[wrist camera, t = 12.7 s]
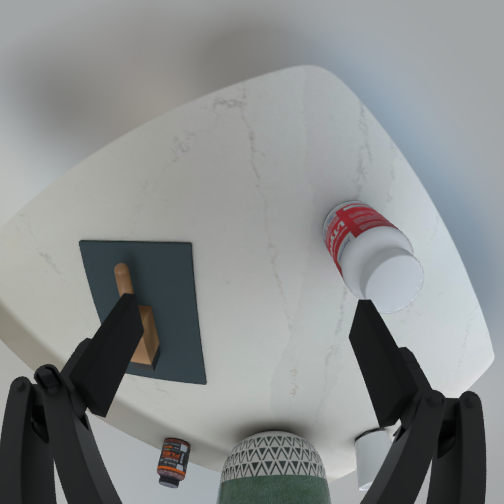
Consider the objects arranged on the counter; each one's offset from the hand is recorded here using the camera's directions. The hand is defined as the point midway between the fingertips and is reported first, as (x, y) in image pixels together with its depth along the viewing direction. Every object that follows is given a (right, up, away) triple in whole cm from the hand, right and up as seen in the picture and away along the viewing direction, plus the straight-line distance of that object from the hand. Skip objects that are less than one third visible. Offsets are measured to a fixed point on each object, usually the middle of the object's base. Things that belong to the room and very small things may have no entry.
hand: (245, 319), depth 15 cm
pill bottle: (+10, +6, +12) cm, 17 cm away
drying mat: (-13, -5, +18) cm, 23 cm away
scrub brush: (-13, -3, +16) cm, 21 cm away
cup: (+26, -36, +31) cm, 55 cm away
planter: (+4, -32, +30) cm, 44 cm away
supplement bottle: (-16, -38, +33) cm, 52 cm away
